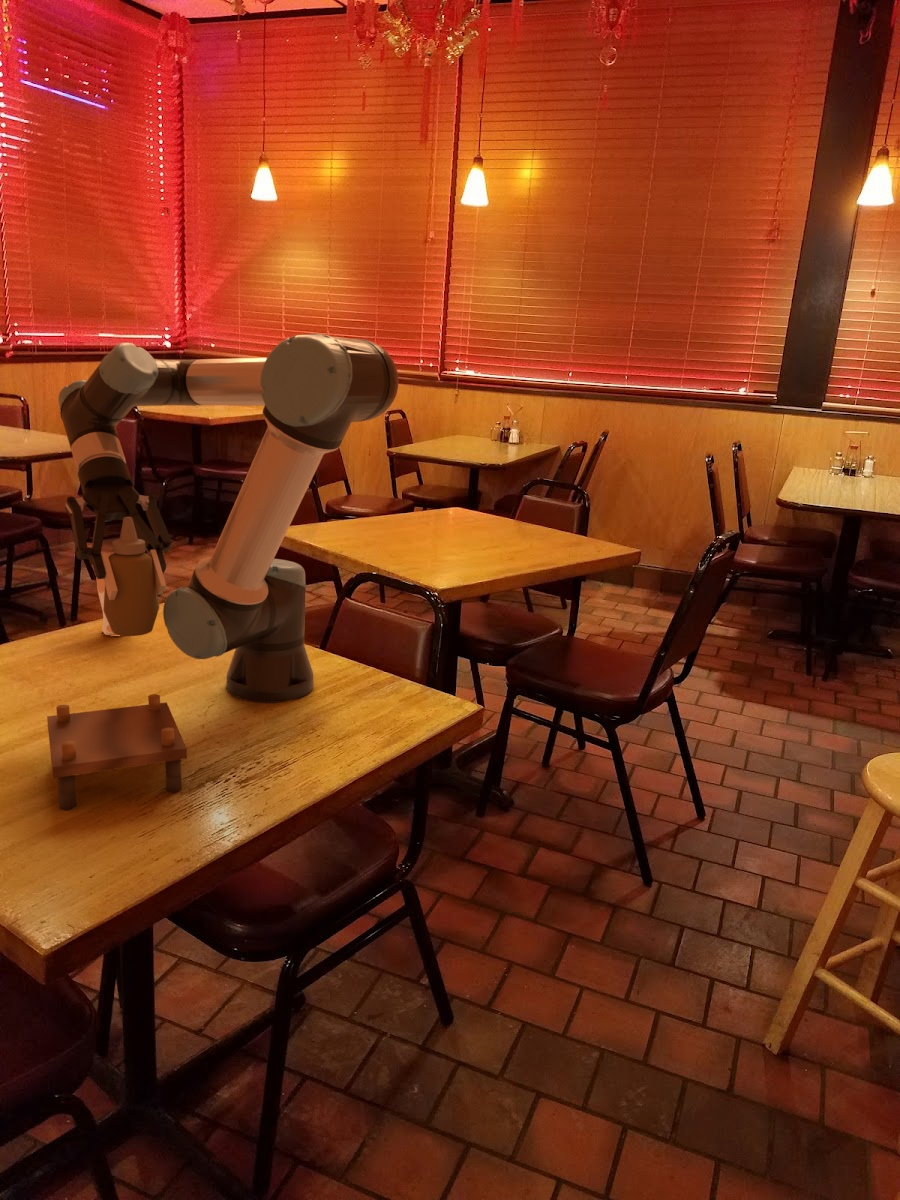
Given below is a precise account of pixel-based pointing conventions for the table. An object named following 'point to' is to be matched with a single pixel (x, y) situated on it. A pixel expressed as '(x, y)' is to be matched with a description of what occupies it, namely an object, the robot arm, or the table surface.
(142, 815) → the table surface
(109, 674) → the table surface
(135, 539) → the squeeze bottle
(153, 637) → the table surface
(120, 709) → the walnut stand
